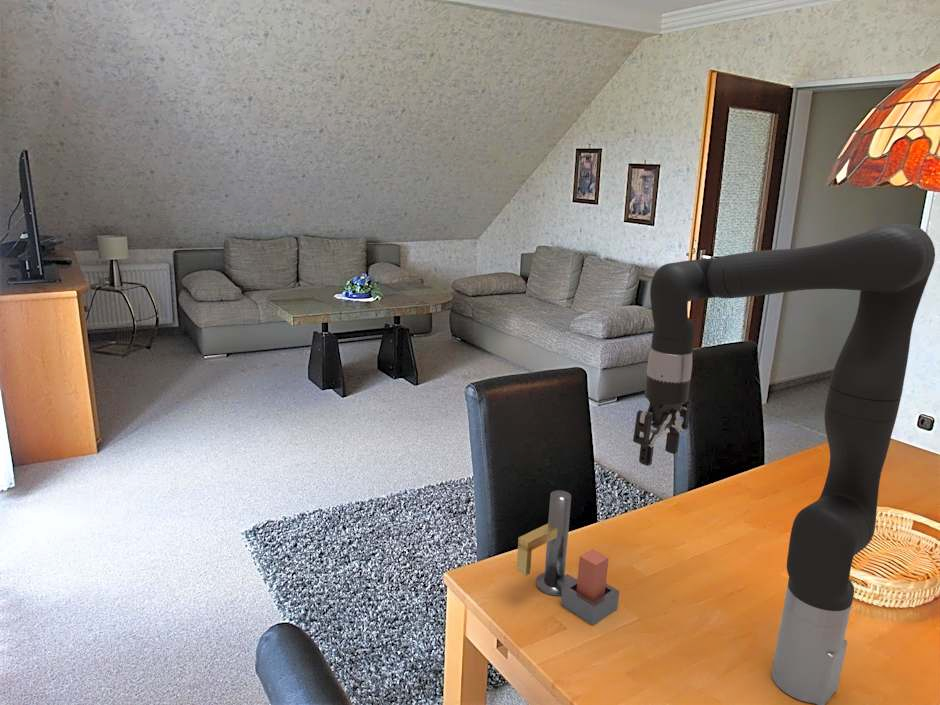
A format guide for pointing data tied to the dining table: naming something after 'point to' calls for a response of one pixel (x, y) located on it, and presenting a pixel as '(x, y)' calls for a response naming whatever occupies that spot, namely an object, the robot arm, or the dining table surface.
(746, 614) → the dining table surface
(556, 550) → the grey stand
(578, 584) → the red rectangular block
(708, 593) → the dining table surface
